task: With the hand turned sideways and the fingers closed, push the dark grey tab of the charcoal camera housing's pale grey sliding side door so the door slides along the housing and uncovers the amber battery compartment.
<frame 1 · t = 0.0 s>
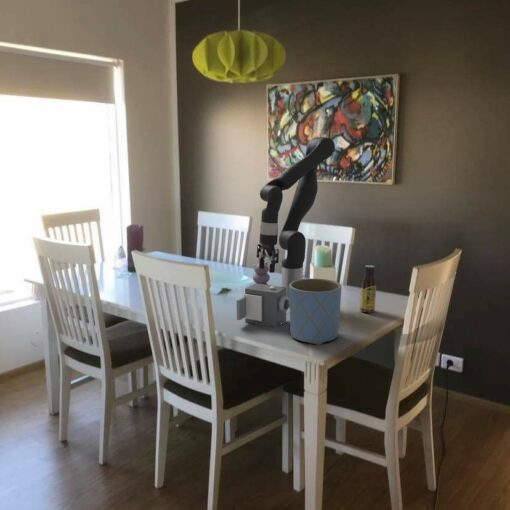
hand: (266, 270, 236), 17 cm above the table, tool pointing down, fingers open, 8 cm apart
side door: (249, 309, 217), point 7 cm above the table, slide at 0.0 cm
planter: (314, 336, 207), on the table
sauce bottle: (367, 311, 236), on the table
camera housing: (265, 321, 224), on the table
cat figurine: (261, 287, 275), on the table
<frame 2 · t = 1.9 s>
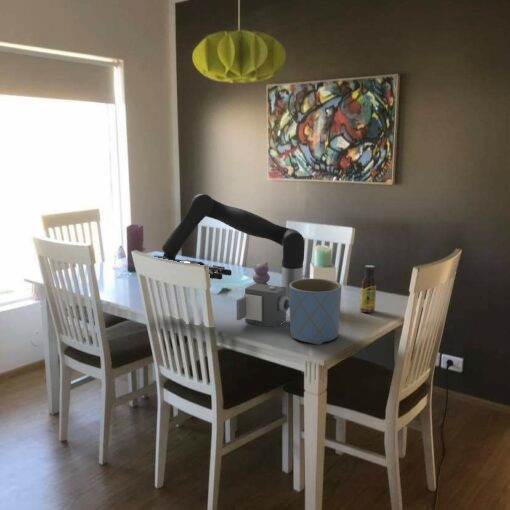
hand: (226, 274, 217), 20 cm above the table, tool horizontal, fingers open, 6 cm apart
nothing on the table moved.
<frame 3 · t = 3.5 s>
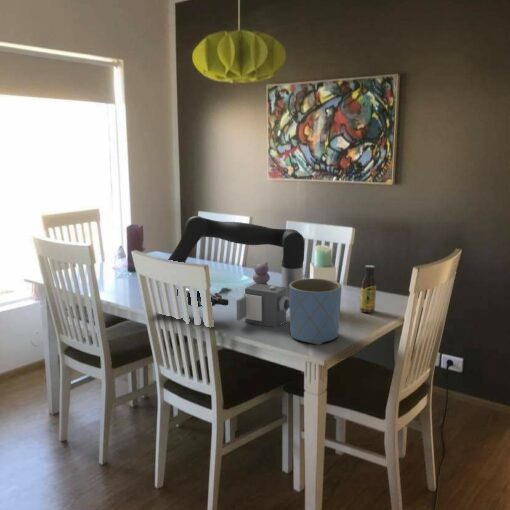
hand: (227, 302, 220), 9 cm above the table, tool horizontal, fingers closed
nothing on the table moved.
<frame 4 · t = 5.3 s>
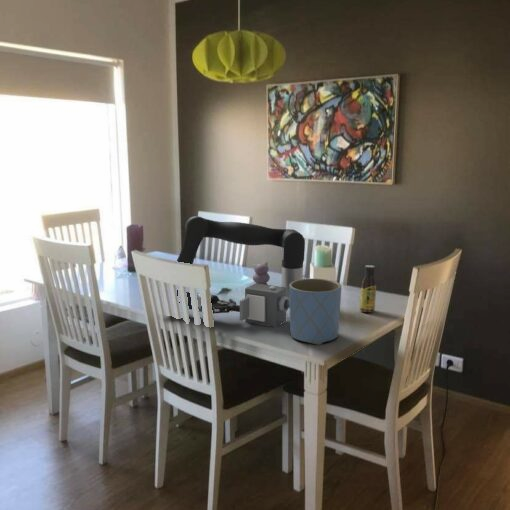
hand: (242, 309, 217), 7 cm above the table, tool horizontal, fingers closed
side door: (252, 309, 216), point 7 cm above the table, slide at 1.4 cm, touching gripper
everything else where it was.
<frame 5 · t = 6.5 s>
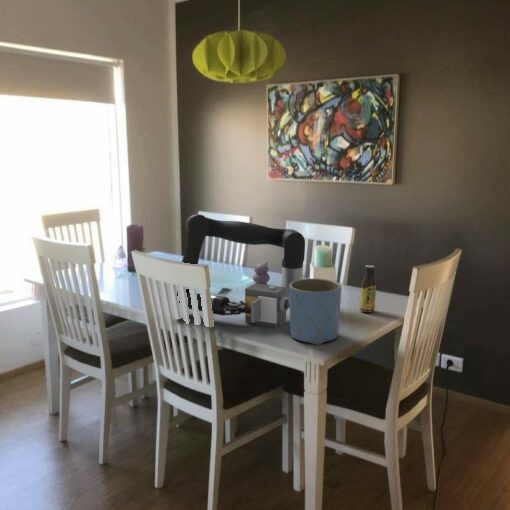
hand: (253, 311, 215), 7 cm above the table, tool horizontal, fingers closed
side door: (264, 311, 214), point 7 cm above the table, slide at 6.4 cm, touching gripper
everything else where it was.
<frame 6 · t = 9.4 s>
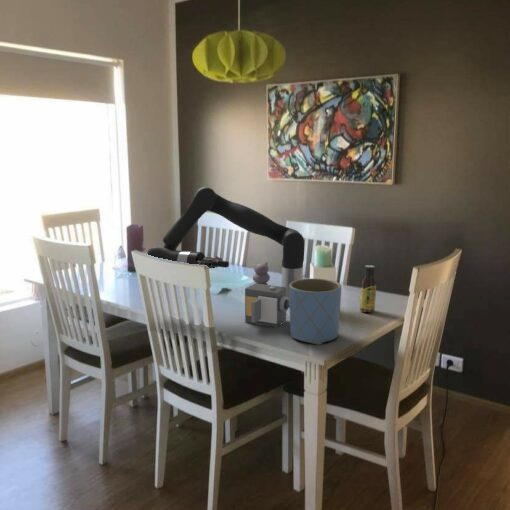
hand: (227, 264, 216), 24 cm above the table, tool horizontal, fingers closed
side door: (264, 311, 214), point 7 cm above the table, slide at 6.5 cm
everything else where it was.
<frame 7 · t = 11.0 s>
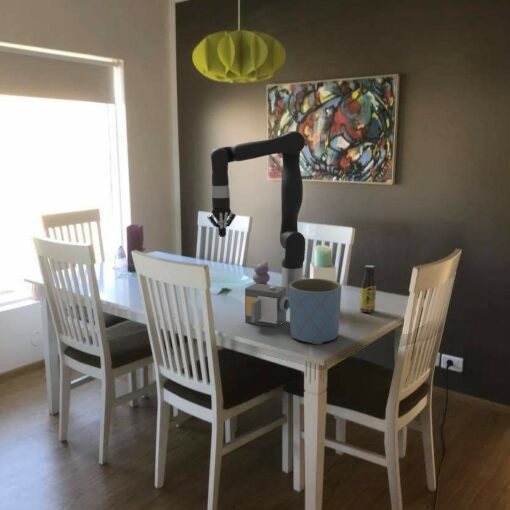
hand: (222, 236, 236), 31 cm above the table, tool pointing down, fingers closed
nothing on the table moved.
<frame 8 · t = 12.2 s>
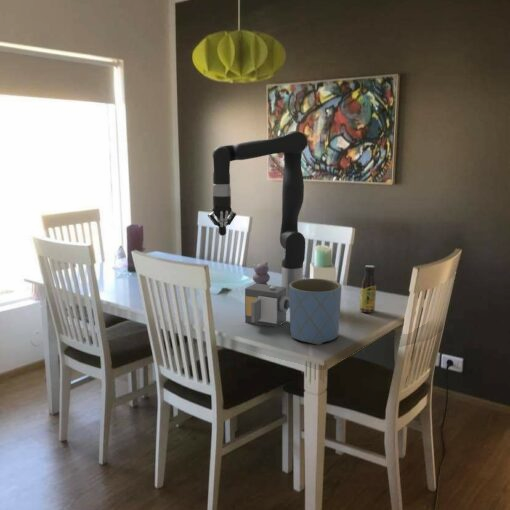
hand: (222, 235, 236), 32 cm above the table, tool pointing down, fingers closed
nothing on the table moved.
at the end: side door slide at 6.5 cm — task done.
